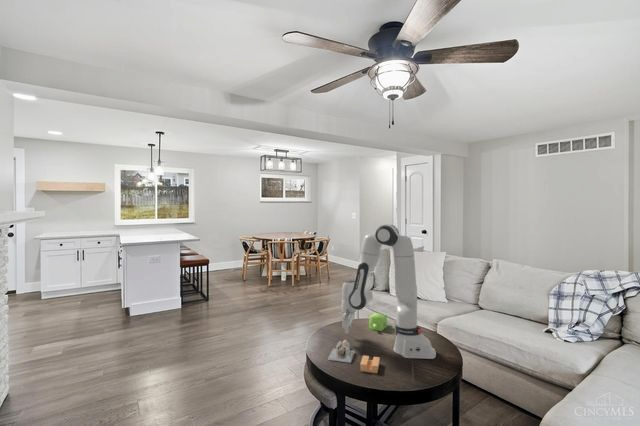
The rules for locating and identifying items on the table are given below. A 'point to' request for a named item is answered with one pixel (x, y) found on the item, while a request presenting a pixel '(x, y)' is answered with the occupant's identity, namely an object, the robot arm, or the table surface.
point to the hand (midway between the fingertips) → (348, 330)
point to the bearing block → (346, 356)
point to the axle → (342, 348)
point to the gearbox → (377, 321)
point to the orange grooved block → (370, 364)
